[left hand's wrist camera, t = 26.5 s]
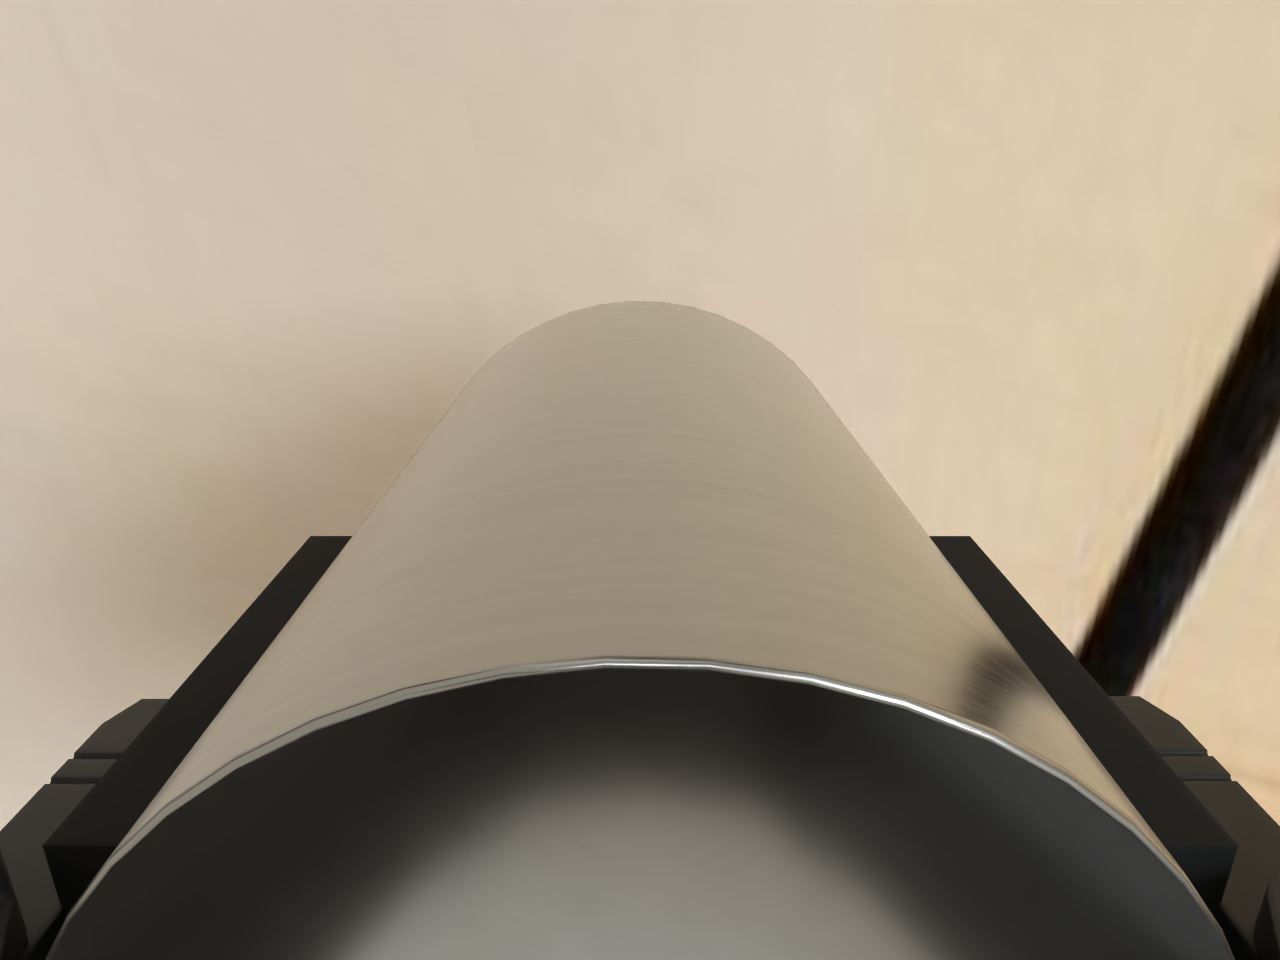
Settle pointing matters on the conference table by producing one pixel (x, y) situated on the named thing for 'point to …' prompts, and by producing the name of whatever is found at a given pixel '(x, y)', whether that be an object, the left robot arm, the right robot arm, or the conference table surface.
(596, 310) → the can
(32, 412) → the conference table surface
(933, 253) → the conference table surface
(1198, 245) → the conference table surface
